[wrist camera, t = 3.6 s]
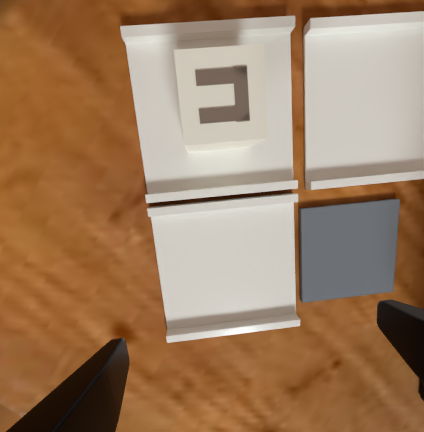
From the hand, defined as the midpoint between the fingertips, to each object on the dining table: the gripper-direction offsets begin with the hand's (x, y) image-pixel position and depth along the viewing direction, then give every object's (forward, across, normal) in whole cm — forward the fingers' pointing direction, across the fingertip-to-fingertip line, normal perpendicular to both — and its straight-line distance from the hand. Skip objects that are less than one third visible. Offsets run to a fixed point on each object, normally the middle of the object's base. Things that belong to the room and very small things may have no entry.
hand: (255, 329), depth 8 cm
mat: (+10, -10, +2) cm, 15 cm away
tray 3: (+10, -12, -9) cm, 18 cm away
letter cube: (+10, 0, -9) cm, 14 cm away
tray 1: (+10, 0, -9) cm, 14 cm away
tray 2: (+10, 0, +2) cm, 11 cm away
